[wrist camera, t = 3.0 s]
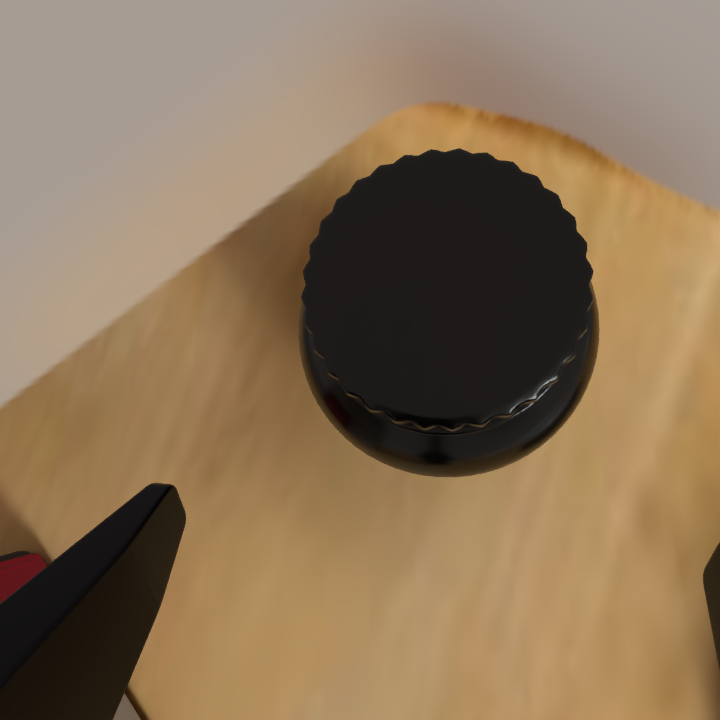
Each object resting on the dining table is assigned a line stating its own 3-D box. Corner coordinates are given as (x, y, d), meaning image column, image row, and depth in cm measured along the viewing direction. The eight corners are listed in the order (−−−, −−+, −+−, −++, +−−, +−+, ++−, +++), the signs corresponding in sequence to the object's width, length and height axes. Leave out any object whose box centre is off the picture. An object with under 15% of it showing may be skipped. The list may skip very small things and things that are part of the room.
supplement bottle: (326, 325, 22) (187, 186, 10) (490, 251, 21) (546, 14, 9) (395, 492, 20) (329, 560, 9) (572, 419, 20) (756, 385, 8)
